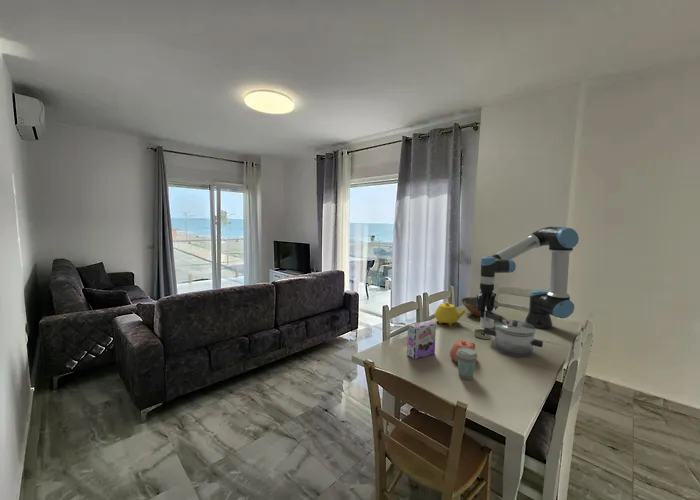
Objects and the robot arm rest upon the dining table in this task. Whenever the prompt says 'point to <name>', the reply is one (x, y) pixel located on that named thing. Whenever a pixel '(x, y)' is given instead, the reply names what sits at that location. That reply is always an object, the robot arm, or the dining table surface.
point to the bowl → (474, 305)
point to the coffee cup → (466, 362)
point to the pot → (514, 343)
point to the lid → (510, 324)
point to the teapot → (448, 313)
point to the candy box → (421, 339)
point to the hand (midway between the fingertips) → (485, 322)
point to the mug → (486, 324)
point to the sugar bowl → (459, 345)
